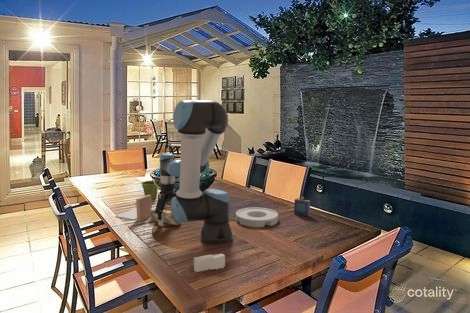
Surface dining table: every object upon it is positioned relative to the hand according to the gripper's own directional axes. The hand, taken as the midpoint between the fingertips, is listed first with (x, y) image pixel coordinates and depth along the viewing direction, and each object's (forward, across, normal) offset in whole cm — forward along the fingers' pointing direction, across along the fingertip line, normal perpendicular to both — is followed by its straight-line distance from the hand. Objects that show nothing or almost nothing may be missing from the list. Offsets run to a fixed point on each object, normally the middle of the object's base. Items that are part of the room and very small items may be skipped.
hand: (168, 221), depth 189 cm
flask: (0, -45, +61) cm, 76 cm away
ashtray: (+1, -25, +41) cm, 48 cm away
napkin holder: (+1, +37, +47) cm, 60 cm away
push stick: (0, 0, -2) cm, 2 cm away
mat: (0, -2, -25) cm, 25 cm away
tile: (0, 0, -16) cm, 16 cm away
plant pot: (+1, -33, -38) cm, 50 cm away
